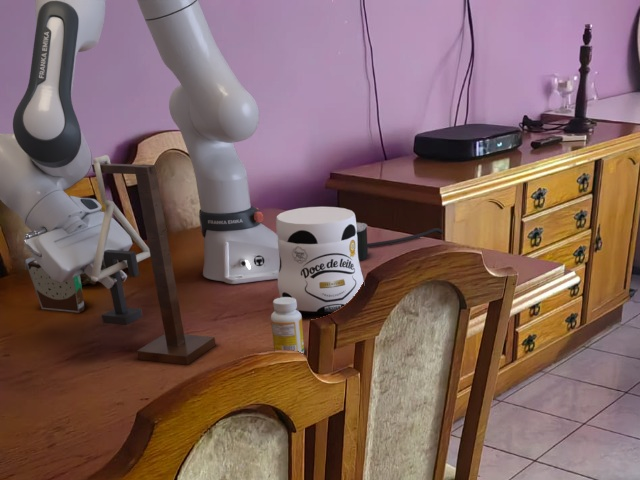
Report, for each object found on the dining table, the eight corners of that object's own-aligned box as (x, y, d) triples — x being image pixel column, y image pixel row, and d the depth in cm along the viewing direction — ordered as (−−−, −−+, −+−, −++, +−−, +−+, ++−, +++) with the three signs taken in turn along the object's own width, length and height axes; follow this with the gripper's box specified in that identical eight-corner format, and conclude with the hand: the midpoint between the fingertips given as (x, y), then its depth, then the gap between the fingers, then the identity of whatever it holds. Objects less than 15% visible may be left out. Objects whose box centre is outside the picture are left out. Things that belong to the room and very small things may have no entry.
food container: (103, 304, 176) (93, 255, 170) (85, 313, 171) (73, 263, 166) (55, 299, 179) (43, 251, 174) (35, 308, 175) (22, 259, 169)
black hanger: (103, 323, 150) (87, 253, 143) (119, 314, 154) (105, 246, 147) (138, 326, 148) (124, 256, 141) (153, 317, 152) (140, 249, 145)
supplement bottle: (289, 361, 146) (283, 307, 141) (268, 354, 149) (262, 301, 144) (311, 352, 150) (306, 299, 144) (290, 346, 153) (285, 293, 147)
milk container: (332, 326, 161) (325, 229, 151) (262, 313, 169) (251, 219, 159) (381, 301, 173) (377, 210, 163) (314, 290, 181) (307, 202, 171)
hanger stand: (104, 364, 147) (58, 165, 129) (158, 332, 161) (123, 147, 143) (176, 372, 143) (139, 168, 125) (225, 338, 157) (198, 150, 139)
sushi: (364, 262, 199) (362, 227, 195) (330, 261, 200) (328, 226, 196) (371, 253, 206) (370, 219, 201) (338, 252, 207) (336, 218, 202)
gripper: (25, 223, 135) (90, 288, 137) (101, 197, 151) (158, 256, 154) (10, 249, 138) (73, 312, 141) (86, 221, 155) (142, 279, 157)
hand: (118, 283), depth 147 cm, fingers closed on black hanger
